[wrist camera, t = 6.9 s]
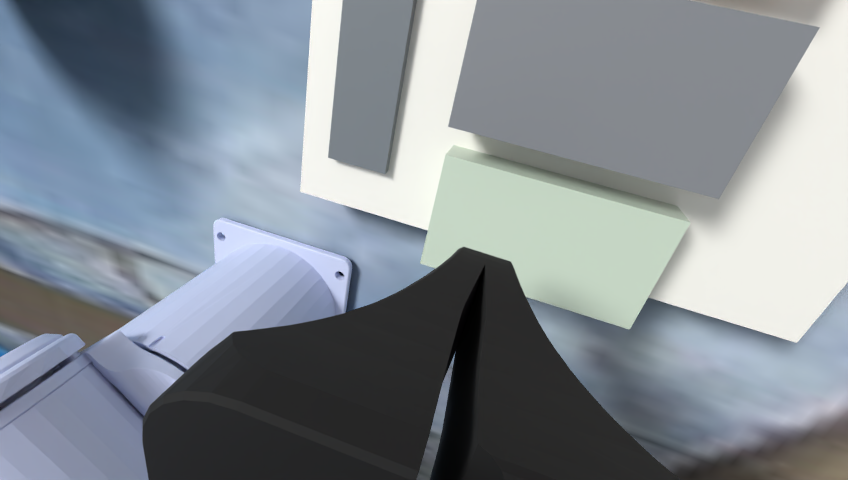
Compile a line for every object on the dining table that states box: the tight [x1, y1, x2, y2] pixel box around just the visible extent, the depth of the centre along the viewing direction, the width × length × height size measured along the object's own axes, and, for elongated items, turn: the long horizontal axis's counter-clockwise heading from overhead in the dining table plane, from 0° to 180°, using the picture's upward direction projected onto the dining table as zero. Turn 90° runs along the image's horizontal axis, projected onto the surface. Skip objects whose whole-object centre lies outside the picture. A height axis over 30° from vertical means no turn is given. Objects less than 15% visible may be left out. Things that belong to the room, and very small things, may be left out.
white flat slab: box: [300, 0, 848, 343], centre depth 14 cm, size 14×20×3 cm
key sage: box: [420, 145, 691, 330], centre depth 15 cm, size 4×8×2 cm, turn 78°
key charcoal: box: [448, 0, 820, 199], centre depth 12 cm, size 4×8×2 cm, turn 78°
